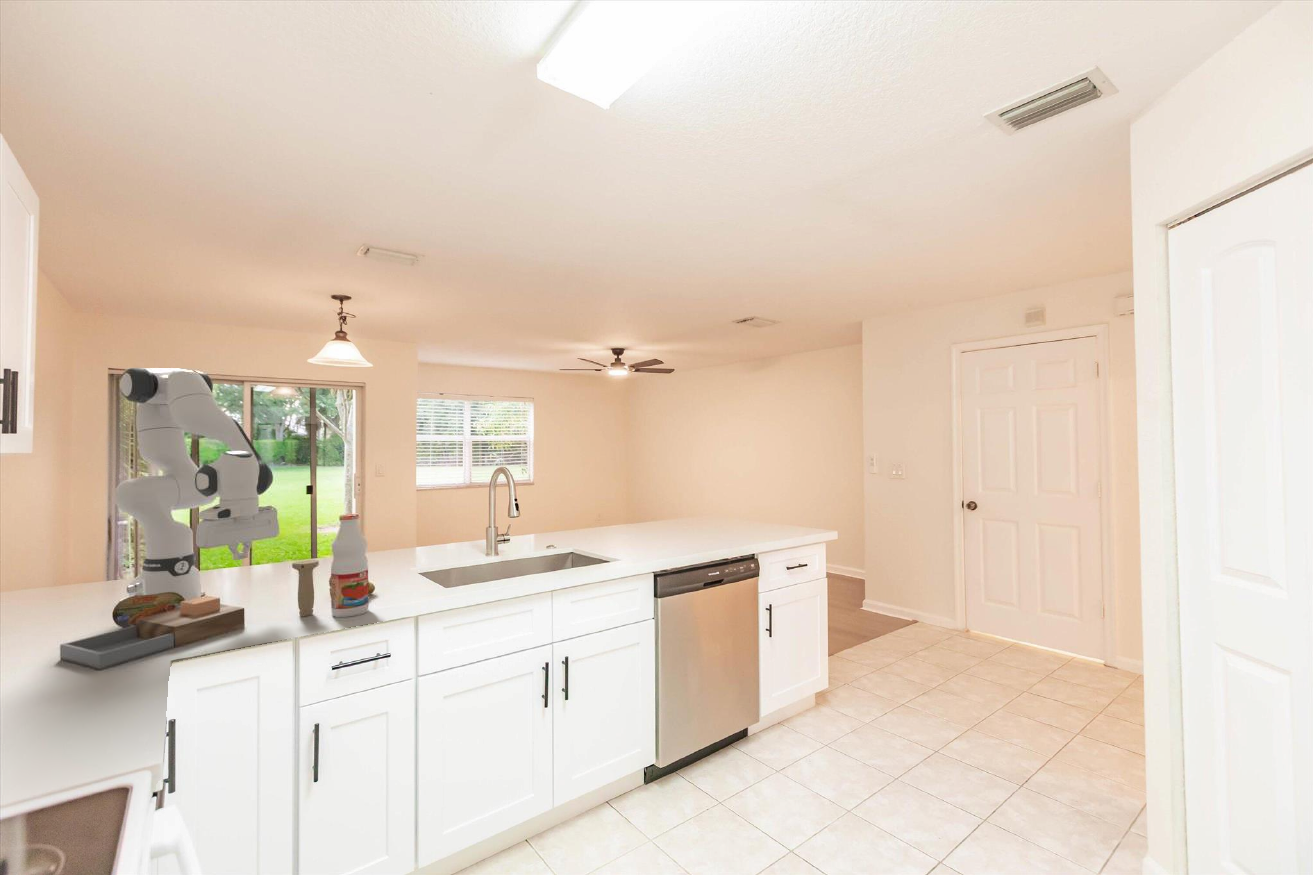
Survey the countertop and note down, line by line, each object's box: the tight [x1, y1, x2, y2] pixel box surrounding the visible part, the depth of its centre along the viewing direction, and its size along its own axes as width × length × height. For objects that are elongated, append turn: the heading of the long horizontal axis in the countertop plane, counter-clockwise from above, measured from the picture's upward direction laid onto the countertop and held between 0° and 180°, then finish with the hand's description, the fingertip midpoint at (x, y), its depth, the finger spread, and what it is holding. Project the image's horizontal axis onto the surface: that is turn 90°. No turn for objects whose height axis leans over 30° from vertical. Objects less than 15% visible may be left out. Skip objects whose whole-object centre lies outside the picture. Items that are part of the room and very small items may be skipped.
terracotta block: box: [180, 595, 221, 616], centre depth 151 cm, size 6×6×3 cm
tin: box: [111, 592, 185, 629], centre depth 156 cm, size 15×3×8 cm, turn 117°
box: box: [59, 626, 175, 671], centre depth 135 cm, size 16×14×4 cm
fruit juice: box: [330, 513, 370, 618], centre depth 165 cm, size 9×9×28 cm
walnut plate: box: [136, 603, 245, 648], centre depth 149 cm, size 16×16×5 cm
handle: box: [291, 559, 320, 617], centre depth 163 cm, size 5×6×15 cm
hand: (240, 559), depth 160 cm, fingers closed
